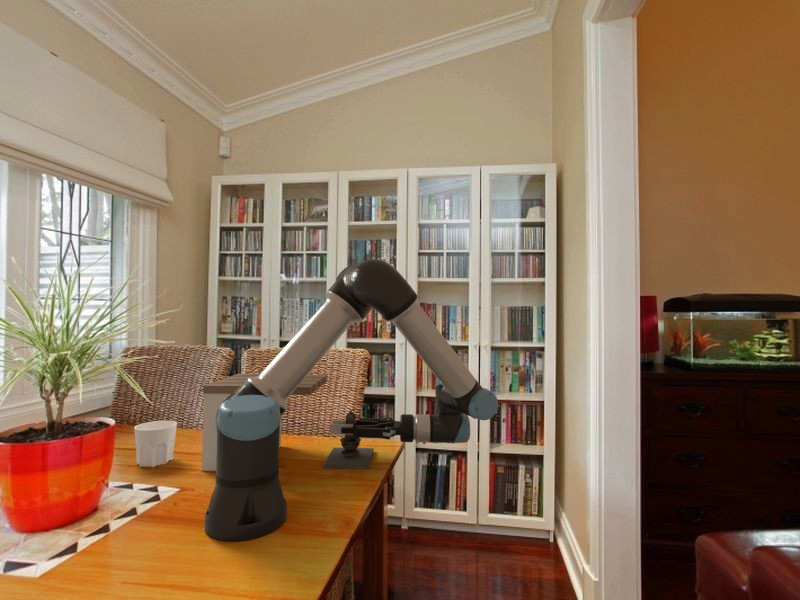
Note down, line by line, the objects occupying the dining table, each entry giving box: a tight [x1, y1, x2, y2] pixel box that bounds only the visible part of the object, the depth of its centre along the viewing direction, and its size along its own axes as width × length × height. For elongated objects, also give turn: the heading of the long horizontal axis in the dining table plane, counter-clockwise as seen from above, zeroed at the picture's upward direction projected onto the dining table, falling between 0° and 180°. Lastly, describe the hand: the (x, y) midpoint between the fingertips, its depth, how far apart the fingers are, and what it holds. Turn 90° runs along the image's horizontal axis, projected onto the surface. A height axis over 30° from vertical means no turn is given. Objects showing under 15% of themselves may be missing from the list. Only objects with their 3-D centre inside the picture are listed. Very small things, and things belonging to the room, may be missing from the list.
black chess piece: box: [339, 409, 362, 456], centre depth 116 cm, size 6×6×12 cm
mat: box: [323, 446, 375, 470], centre depth 116 cm, size 14×12×1 cm
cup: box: [133, 420, 178, 468], centre depth 112 cm, size 10×10×10 cm
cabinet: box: [201, 373, 328, 472], centre depth 117 cm, size 22×28×22 cm
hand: (331, 427), depth 116 cm, fingers closed on black chess piece, 4 cm apart
